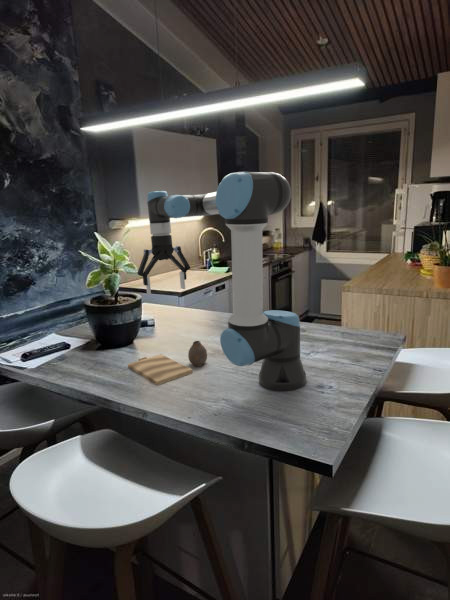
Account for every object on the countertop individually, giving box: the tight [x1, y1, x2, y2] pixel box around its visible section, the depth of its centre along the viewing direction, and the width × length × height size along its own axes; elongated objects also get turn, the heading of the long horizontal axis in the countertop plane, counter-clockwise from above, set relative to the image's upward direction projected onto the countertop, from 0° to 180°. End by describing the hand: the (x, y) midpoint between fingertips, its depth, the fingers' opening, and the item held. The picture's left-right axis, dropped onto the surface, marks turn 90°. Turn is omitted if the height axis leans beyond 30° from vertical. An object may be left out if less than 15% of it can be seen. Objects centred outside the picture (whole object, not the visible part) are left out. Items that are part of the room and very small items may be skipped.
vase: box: [187, 340, 208, 367], centre depth 149 cm, size 7×7×9 cm
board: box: [127, 353, 193, 386], centre depth 148 cm, size 24×14×1 cm, turn 38°
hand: (166, 291), depth 155 cm, fingers open, 13 cm apart
